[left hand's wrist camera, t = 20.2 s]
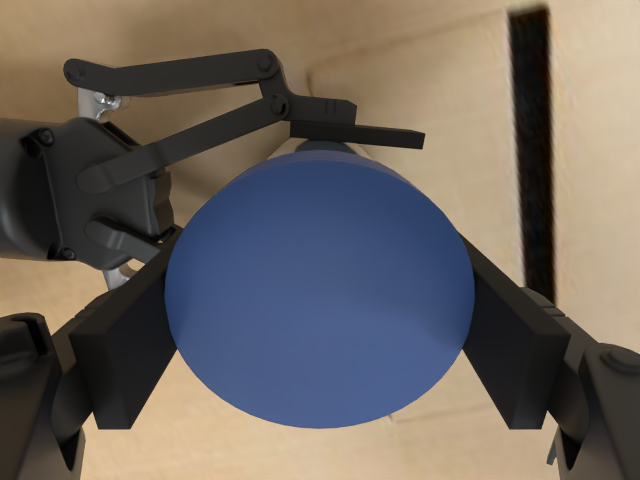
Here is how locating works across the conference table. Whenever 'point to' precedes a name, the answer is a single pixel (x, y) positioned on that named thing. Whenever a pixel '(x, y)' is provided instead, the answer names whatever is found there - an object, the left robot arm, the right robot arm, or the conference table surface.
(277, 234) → the lid
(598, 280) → the conference table surface
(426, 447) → the conference table surface
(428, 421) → the conference table surface
